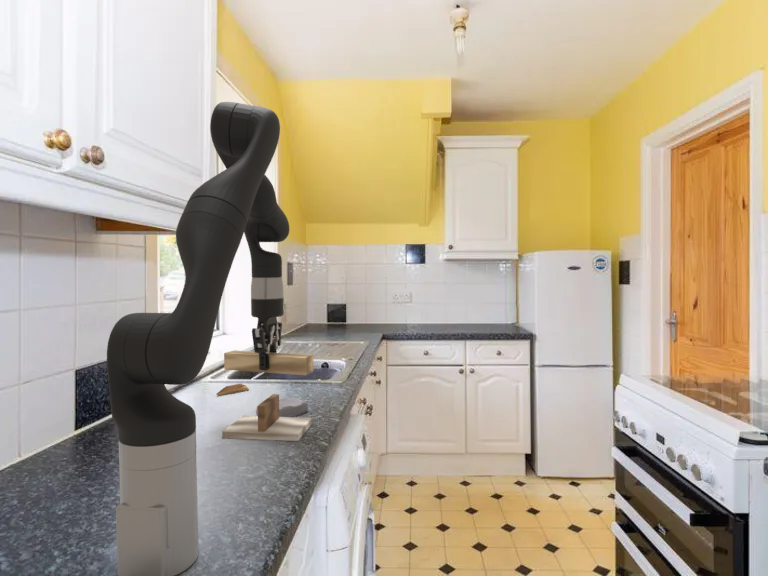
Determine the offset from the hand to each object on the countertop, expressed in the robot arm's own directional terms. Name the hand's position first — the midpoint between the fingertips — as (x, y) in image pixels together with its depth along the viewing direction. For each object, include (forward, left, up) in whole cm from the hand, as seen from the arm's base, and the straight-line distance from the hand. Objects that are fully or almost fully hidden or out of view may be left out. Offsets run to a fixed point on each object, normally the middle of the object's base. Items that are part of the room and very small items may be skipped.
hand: (268, 367), depth 114 cm
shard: (+34, +24, -16) cm, 45 cm away
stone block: (+13, +2, -16) cm, 21 cm away
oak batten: (0, 0, -1) cm, 1 cm away
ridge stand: (0, 0, -15) cm, 15 cm away
